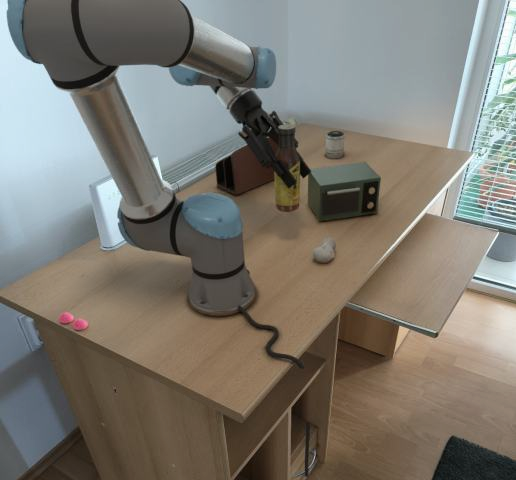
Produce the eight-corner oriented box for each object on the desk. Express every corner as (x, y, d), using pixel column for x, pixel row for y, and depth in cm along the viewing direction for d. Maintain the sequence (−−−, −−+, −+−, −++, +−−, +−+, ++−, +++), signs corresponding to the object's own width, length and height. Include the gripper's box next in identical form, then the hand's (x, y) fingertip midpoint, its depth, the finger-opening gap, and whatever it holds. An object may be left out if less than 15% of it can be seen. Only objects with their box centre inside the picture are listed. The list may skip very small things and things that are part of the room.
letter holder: (282, 176, 168) (281, 133, 159) (236, 196, 158) (232, 150, 149) (262, 169, 174) (260, 126, 165) (216, 187, 164) (211, 143, 155)
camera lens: (325, 152, 182) (326, 129, 177) (343, 152, 182) (344, 129, 176) (325, 158, 178) (326, 135, 173) (343, 158, 177) (344, 135, 172)
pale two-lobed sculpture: (324, 270, 126) (307, 260, 127) (339, 255, 131) (322, 245, 132) (330, 257, 123) (312, 247, 124) (344, 242, 127) (327, 232, 128)
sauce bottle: (297, 214, 126) (298, 132, 113) (273, 212, 127) (270, 131, 114) (301, 202, 131) (302, 122, 118) (277, 201, 132) (275, 122, 119)
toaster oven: (380, 218, 142) (384, 180, 135) (321, 227, 140) (322, 189, 133) (362, 197, 153) (365, 161, 146) (307, 205, 151) (308, 168, 144)
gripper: (224, 99, 111) (289, 186, 114) (271, 79, 122) (329, 157, 126) (207, 121, 116) (269, 203, 120) (254, 100, 128) (310, 174, 131)
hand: (300, 179), depth 123 cm, fingers closed on sauce bottle, 6 cm apart
